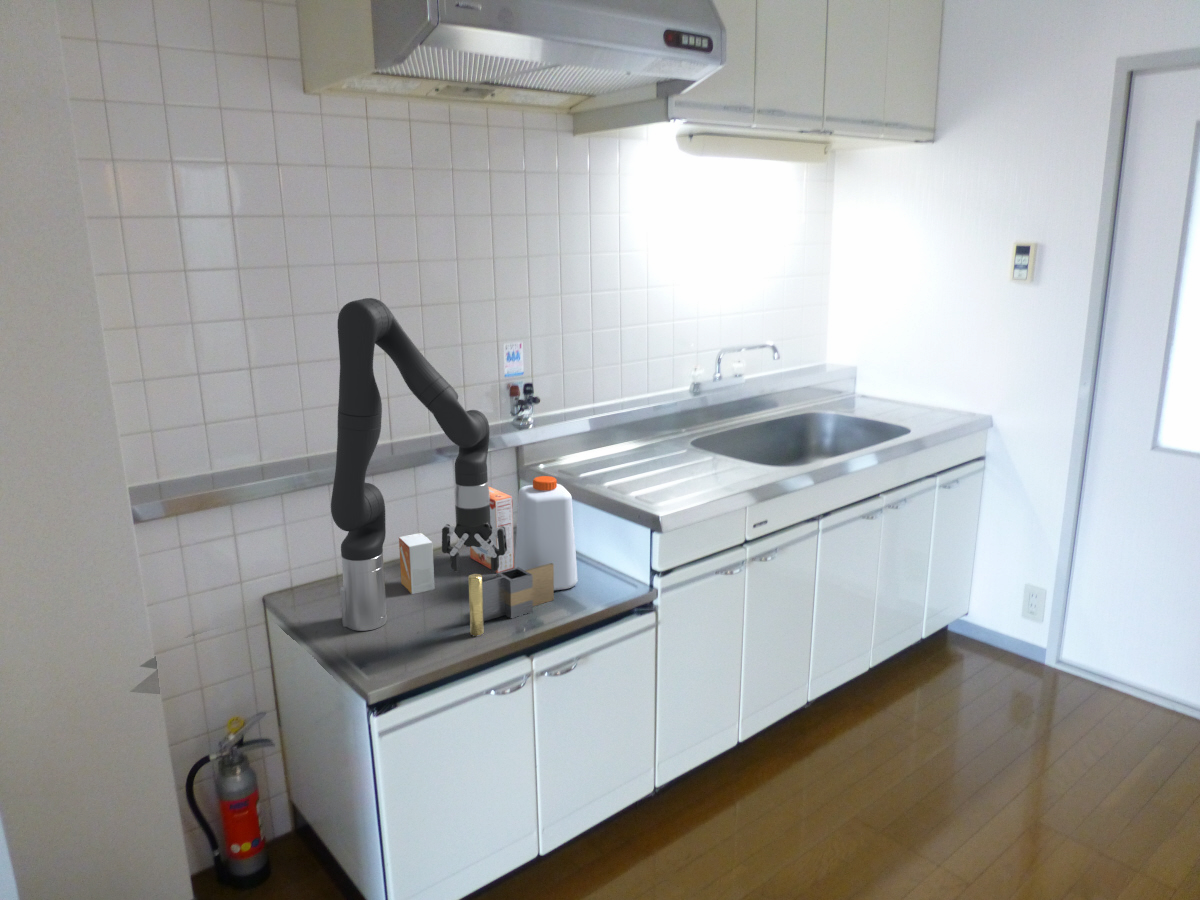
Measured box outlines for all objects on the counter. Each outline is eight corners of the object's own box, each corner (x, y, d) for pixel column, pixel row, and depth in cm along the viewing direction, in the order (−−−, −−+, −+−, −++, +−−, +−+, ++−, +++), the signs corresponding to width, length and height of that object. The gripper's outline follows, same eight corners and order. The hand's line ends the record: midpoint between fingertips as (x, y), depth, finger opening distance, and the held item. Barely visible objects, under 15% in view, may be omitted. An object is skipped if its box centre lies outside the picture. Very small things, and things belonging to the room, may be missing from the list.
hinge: (481, 627, 201) (480, 589, 199) (468, 618, 206) (467, 580, 203) (560, 603, 214) (559, 567, 212) (545, 595, 219) (545, 559, 217)
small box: (400, 583, 226) (398, 536, 222) (424, 579, 229) (421, 532, 226) (411, 594, 219) (408, 546, 216) (435, 589, 222) (433, 541, 219)
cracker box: (468, 559, 243) (466, 487, 238) (487, 554, 247) (485, 483, 241) (496, 574, 232) (494, 499, 227) (514, 568, 236) (513, 495, 231)
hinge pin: (468, 636, 197) (466, 578, 194) (472, 630, 200) (470, 573, 196) (481, 637, 197) (480, 579, 193) (485, 631, 200) (483, 574, 196)
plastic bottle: (581, 589, 223) (581, 484, 216) (524, 596, 219) (522, 489, 212) (565, 567, 237) (565, 468, 230) (511, 573, 233) (509, 473, 226)
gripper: (435, 506, 188) (439, 576, 192) (500, 508, 186) (502, 578, 190) (445, 495, 195) (449, 563, 199) (508, 497, 193) (510, 566, 197)
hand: (475, 571), depth 194 cm, fingers open, 8 cm apart
